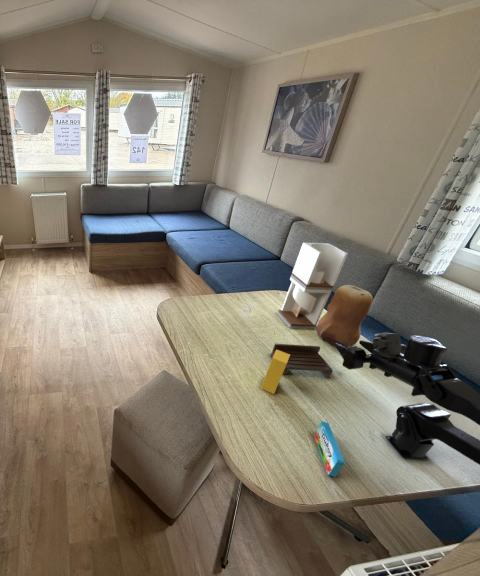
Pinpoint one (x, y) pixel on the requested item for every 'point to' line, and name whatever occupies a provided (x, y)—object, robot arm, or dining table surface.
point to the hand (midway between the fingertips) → (347, 343)
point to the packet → (275, 371)
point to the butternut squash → (344, 316)
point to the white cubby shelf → (311, 284)
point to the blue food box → (328, 449)
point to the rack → (303, 358)
